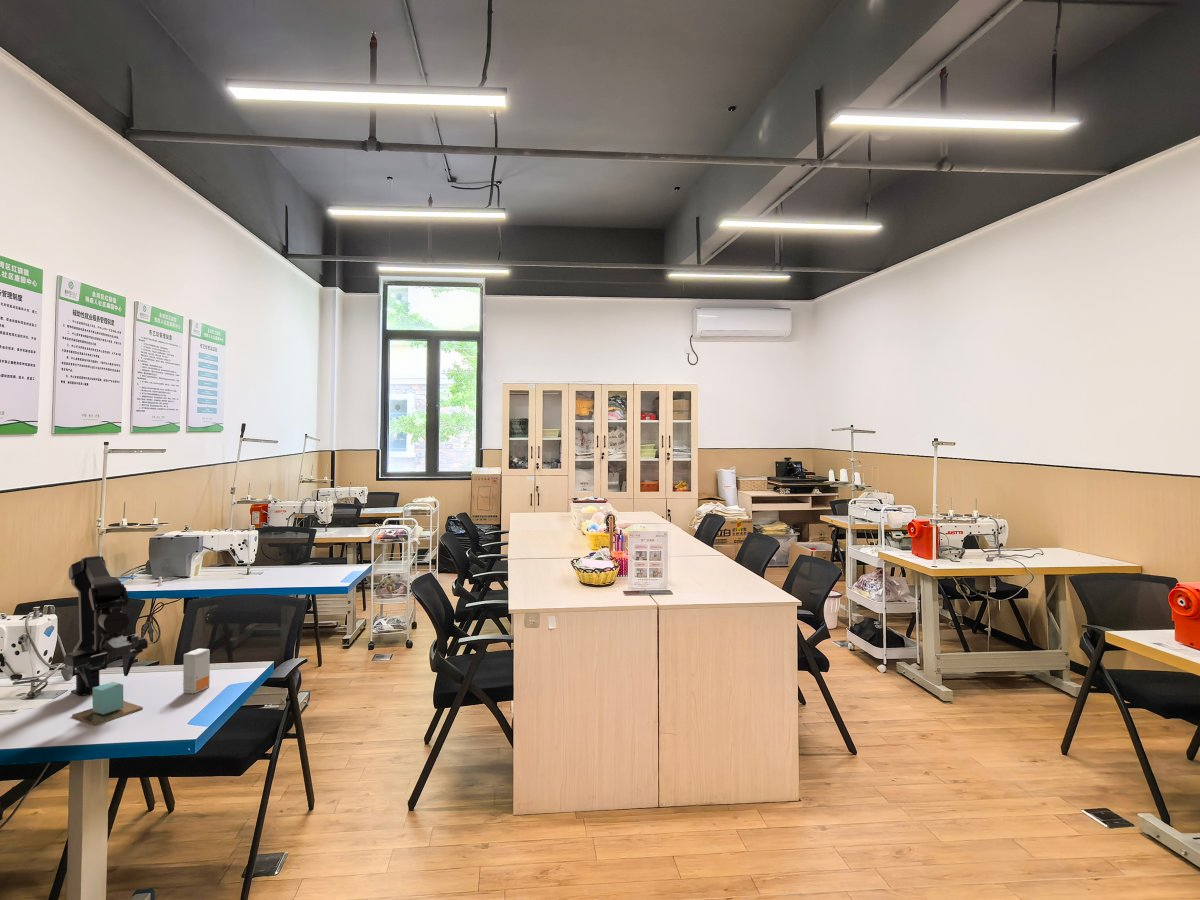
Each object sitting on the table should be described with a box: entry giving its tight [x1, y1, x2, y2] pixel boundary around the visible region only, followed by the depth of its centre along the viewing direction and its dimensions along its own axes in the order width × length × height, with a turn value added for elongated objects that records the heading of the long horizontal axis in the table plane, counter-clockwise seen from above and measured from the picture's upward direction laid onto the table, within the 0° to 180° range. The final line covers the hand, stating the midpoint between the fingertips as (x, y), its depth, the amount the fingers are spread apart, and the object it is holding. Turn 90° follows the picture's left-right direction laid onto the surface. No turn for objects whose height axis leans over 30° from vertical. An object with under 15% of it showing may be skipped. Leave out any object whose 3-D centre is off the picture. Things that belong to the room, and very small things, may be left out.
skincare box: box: [182, 647, 211, 694], centre depth 201 cm, size 6×4×12 cm
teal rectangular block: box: [92, 681, 124, 714], centre depth 184 cm, size 5×5×7 cm
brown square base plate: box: [71, 700, 144, 726], centre depth 184 cm, size 12×12×7 cm
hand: (107, 681), depth 184 cm, fingers open, 9 cm apart
